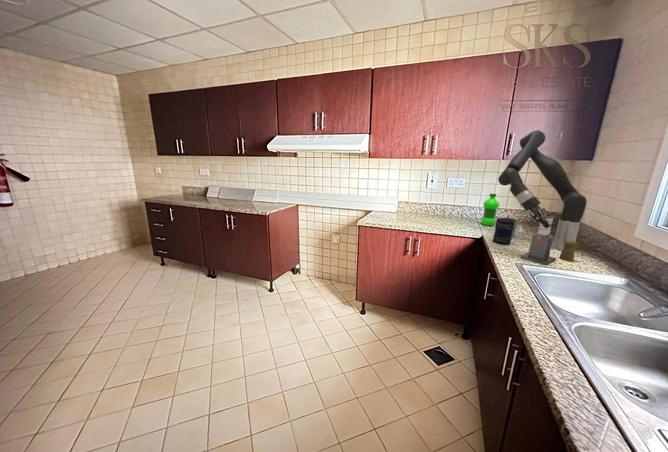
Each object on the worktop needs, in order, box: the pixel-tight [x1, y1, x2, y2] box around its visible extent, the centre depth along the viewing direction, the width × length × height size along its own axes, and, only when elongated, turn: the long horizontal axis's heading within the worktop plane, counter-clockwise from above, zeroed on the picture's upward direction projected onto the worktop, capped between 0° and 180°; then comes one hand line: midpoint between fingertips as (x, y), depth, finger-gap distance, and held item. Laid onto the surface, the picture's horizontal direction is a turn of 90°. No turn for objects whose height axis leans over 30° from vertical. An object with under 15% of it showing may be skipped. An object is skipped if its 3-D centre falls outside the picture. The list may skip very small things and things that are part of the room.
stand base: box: [519, 232, 557, 266], centre depth 139 cm, size 12×12×14 cm
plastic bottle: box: [480, 193, 500, 226], centre depth 205 cm, size 10×10×25 cm
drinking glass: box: [504, 217, 519, 239], centre depth 179 cm, size 10×10×12 cm
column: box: [537, 215, 554, 237], centre depth 137 cm, size 4×4×20 cm
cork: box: [558, 239, 578, 262], centre depth 139 cm, size 6×6×11 cm
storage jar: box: [492, 217, 515, 246], centre depth 165 cm, size 10×10×15 cm
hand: (549, 226), depth 134 cm, fingers closed on column, 4 cm apart
